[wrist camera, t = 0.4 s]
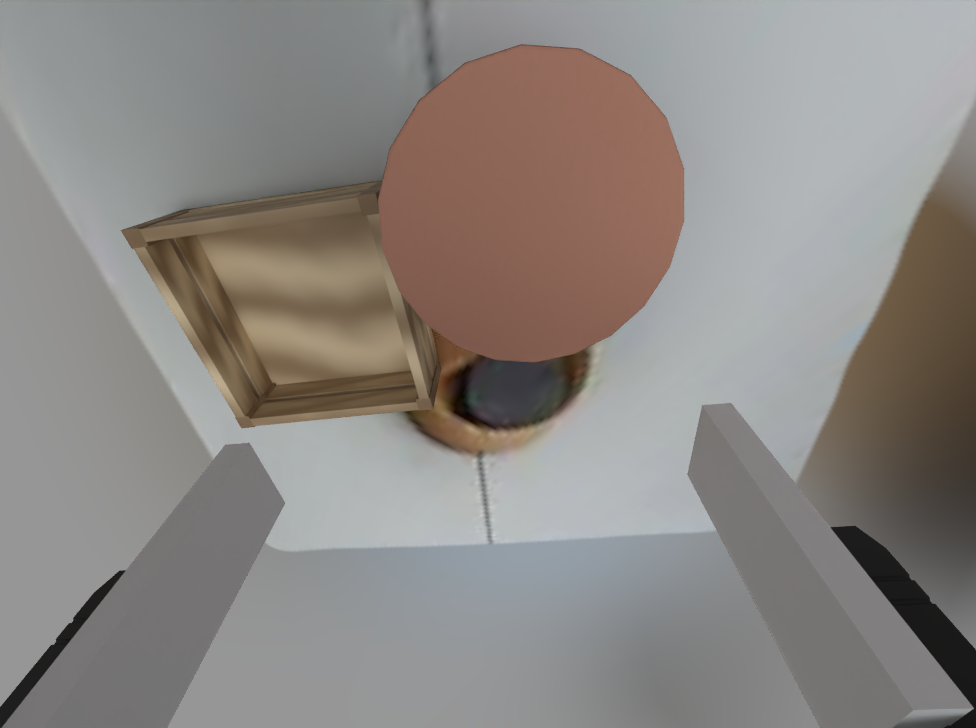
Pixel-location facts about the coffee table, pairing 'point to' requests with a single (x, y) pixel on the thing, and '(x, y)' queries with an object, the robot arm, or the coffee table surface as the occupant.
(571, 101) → the coffee jar
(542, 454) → the coffee table surface
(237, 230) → the pine crate
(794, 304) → the coffee table surface
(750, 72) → the coffee table surface
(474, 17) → the coffee table surface
